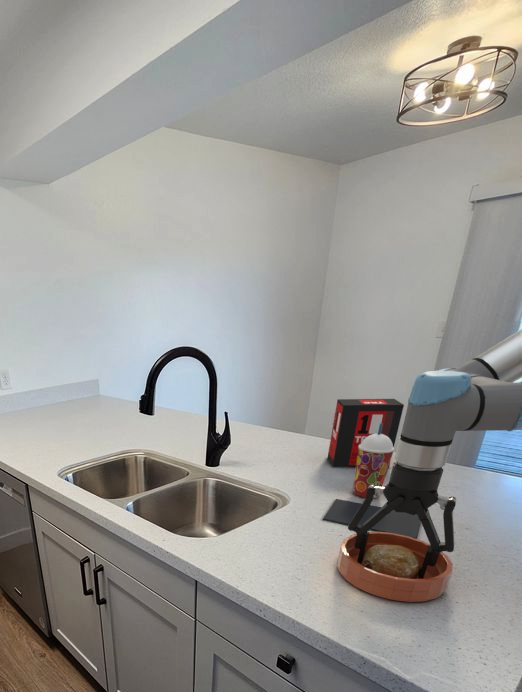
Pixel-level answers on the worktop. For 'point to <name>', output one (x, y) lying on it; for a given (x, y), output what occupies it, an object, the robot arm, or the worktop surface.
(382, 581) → the bowl
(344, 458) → the cleaning product box
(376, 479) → the smoothie
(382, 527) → the placemat
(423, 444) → the robot arm
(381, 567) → the bread roll
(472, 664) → the worktop surface
